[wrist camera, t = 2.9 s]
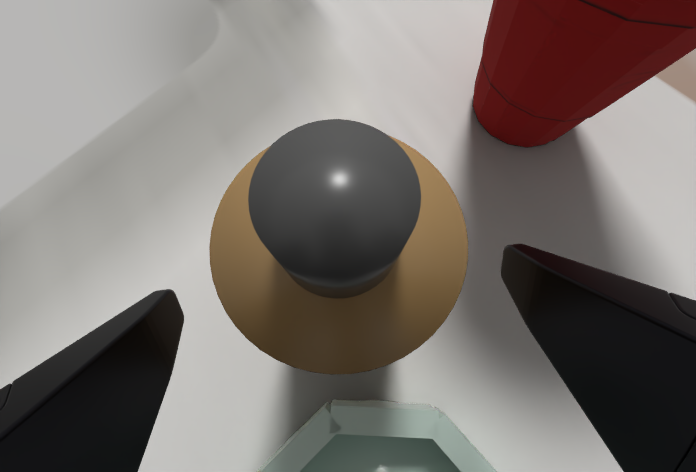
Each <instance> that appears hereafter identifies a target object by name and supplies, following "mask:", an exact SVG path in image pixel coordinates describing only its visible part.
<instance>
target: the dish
mask: <svg viewBox="0 0 696 472" xmlns="http://www.w3.org/2000/svg"><path fill="white" fill-rule="evenodd" d="M257 472H497V471H496V470H495V469H494V468H493V467H492V466H491V464H490V463H489V462H488V461H487V460H486V459H485V458H484V457H483V456H482V454H481V453H480V452H479V451H478V450H477V449H476V448H475V447H474V446H473V444H472V443H471V442H470V441H469V440H468V439H467V438H466V437H465V436H464V434H463V433H462V432H461V431H460V430H459V429H458V428H457V427H456V426H455V425H454V423H453V422H452V421H451V420H450V419H449V418H448V417H447V416H446V415H445V413H443V412H442V411H440V410H439V409H438V408H436V407H433V406H431V405H430V404H414V403H398V402H393V401H385V400H363V401H353V400H332V403H331V405H330V404H329V403H328V401H327V402H326V403H325V404H324V405H323V406H322V407H321V408H320V409H319V410H318V411H317V412H316V413H315V414H314V415H313V416H312V417H311V418H310V419H309V420H308V421H307V422H306V423H305V424H304V425H303V426H302V427H301V428H300V429H299V430H298V431H296V432H295V433H294V434H293V435H292V436H291V437H290V438H289V439H288V440H287V442H286V443H285V444H284V445H283V446H282V447H281V448H280V449H279V450H278V451H277V452H276V453H275V454H274V455H273V456H272V457H271V458H270V459H269V460H268V461H267V462H266V463H265V464H264V465H263V466H262V467H261V468H260V469H259V470H258V471H257Z"/></svg>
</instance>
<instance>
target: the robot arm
mask: <svg viewBox="0 0 696 472" xmlns="http://www.w3.org/2000/svg"><path fill="white" fill-rule="evenodd" d="M501 276H502V279H503V281H504V283H505V285H506V287H507V289H508V291H509V293H510V295H511V297H512V299H513V301H514V303H515V305H516V307H517V309H518V311H519V313H520V314H521V316H522V318H523V320H524V322H525V324H526V325H527V327H528V328H529V330H530V332H531V333H532V335H533V336H534V338H535V339H536V341H537V342H538V344H539V345H540V347H541V348H542V350H543V351H544V353H545V354H546V356H547V357H548V359H549V360H550V362H551V363H552V365H553V366H554V368H555V369H556V371H557V372H558V374H559V375H560V377H561V378H562V380H563V381H564V383H565V384H566V386H567V387H568V389H569V390H570V392H571V393H572V395H573V396H574V398H575V399H576V401H577V402H578V404H579V405H580V407H581V408H582V410H583V411H584V413H585V414H586V416H587V417H588V419H589V420H590V422H591V423H592V425H593V426H594V428H595V429H596V431H597V432H598V434H599V435H600V437H601V438H602V440H603V441H604V443H605V444H606V446H607V447H608V449H609V450H610V452H611V453H612V455H613V456H614V458H615V459H616V461H617V462H618V464H619V465H620V467H621V468H622V470H623V471H624V472H696V301H695V300H692V299H689V298H686V297H683V296H680V295H677V294H674V293H669V294H668V292H667V291H664V290H661V289H658V288H655V287H652V286H649V285H646V284H643V283H640V282H637V281H634V280H631V279H628V278H625V277H622V276H619V275H616V274H613V273H609V272H606V271H603V270H600V269H597V268H594V267H591V266H588V265H585V264H582V263H579V262H576V261H573V260H570V259H567V258H564V257H561V256H558V255H555V254H552V253H548V252H545V251H542V250H539V249H536V248H533V247H530V246H527V245H524V244H513V245H507V246H506V247H505V248H504V251H503V259H502V266H501ZM183 323H184V315H183V311H182V309H181V306H180V304H179V302H178V299H177V297H176V294H175V293H174V291H173V290H171V289H167V290H159V291H155V292H153V293H151V294H150V295H148V296H147V297H145V298H143V299H142V300H140V301H139V302H137V303H136V304H134V305H132V306H131V307H129V308H128V309H126V310H125V311H123V312H121V313H120V314H118V315H117V316H115V317H114V318H112V319H110V320H109V321H107V322H106V323H104V324H103V325H101V326H99V327H98V328H96V329H95V330H93V331H92V332H90V333H88V334H87V335H85V336H84V337H82V338H80V339H79V340H77V341H76V342H74V343H73V344H71V345H69V346H68V347H66V348H65V349H63V350H62V351H60V352H58V353H57V354H55V355H54V356H52V357H51V358H49V359H47V360H46V361H44V362H43V363H41V364H40V365H38V366H36V367H35V368H33V369H32V370H30V371H29V372H27V373H25V374H24V375H22V376H21V377H19V378H18V379H16V380H14V381H13V383H12V384H8V385H6V386H5V387H3V388H2V389H0V472H138V469H139V466H140V464H141V461H142V458H143V455H144V452H145V449H146V446H147V444H148V441H149V438H150V435H151V432H152V429H153V426H154V424H155V421H156V418H157V415H158V412H159V409H160V406H161V404H162V401H163V398H164V395H165V392H166V389H167V386H168V384H169V381H170V377H171V374H172V371H173V367H174V363H175V358H176V354H177V350H178V345H179V341H180V336H181V332H182V328H183Z"/></svg>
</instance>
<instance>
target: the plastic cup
mask: <svg viewBox="0 0 696 472" xmlns="http://www.w3.org/2000/svg"><path fill="white" fill-rule="evenodd" d="M695 48H696V0H493V5H492V9H491V13H490V17H489V22H488V26H487V30H486V34H485V38H484V44H483V53H482V58H481V62H480V66H479V69H478V73H477V77H476V81H475V88H474V96H473V99H474V101H473V107H474V110H475V113H476V116H477V119H478V121H479V122H480V123H481V125H482V126H483V127H484V128H485V129H486V130H487V131H488V132H489V133H490V135H492V136H494V137H496V138H498V139H500V140H502V141H503V142H505V143H507V144H511V145H517V146H523V147H532V146H538V145H543V144H546V143H548V142H549V141H554V140H555V139H557V138H558V137H560V136H562V135H563V134H565V133H566V132H568V131H569V130H571V129H572V128H574V127H575V126H577V125H578V124H580V123H581V122H582V121H584V120H585V119H587V118H590V117H592V116H594V115H595V114H597V113H598V112H600V111H601V110H603V109H605V108H606V107H608V106H609V105H611V104H612V103H614V102H615V101H617V100H618V99H620V98H621V97H623V96H624V95H626V94H627V93H629V92H630V91H632V90H633V89H635V88H636V87H638V86H640V85H641V84H643V83H644V82H646V81H647V80H649V79H650V78H652V77H653V76H655V75H656V74H658V73H659V72H661V71H662V70H664V69H665V68H667V67H668V66H670V65H671V64H673V63H674V62H676V61H677V60H679V59H680V58H682V57H683V56H685V55H686V54H688V53H689V52H691V51H692V50H694V49H695Z"/></svg>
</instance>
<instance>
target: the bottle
mask: <svg viewBox="0 0 696 472" xmlns="http://www.w3.org/2000/svg"><path fill="white" fill-rule="evenodd" d="M467 261H468V238H467V231H466V224H465V221H464V217H463V213H462V210H461V208H460V205H459V203H458V201H457V198H456V196H455V194H454V192H453V191H452V189H451V187H450V186H449V184H448V182H447V181H446V180H445V178H444V177H443V176H442V174H441V173H440V172H439V171H438V170H437V169H436V168H435V166H434V165H433V164H432V163H431V162H430V161H429V160H428V159H426V158H425V157H424V156H423V155H421V154H420V153H419V152H417V151H416V150H415V149H413V148H411V147H410V146H408V145H407V144H405V143H403V142H401V141H399V140H397V139H395V138H393V137H391V136H388V135H386V134H385V133H383V132H381V131H380V130H378V129H376V128H374V127H371V126H369V125H366V124H363V123H360V122H355V121H350V120H341V119H333V120H322V121H316V122H312V123H308V124H305V125H303V126H300V127H298V128H296V129H294V130H292V131H290V132H288V133H286V134H285V135H283V136H282V137H280V138H279V139H278V140H277V141H276V142H275V143H273V144H272V145H271V146H270V147H268V148H267V149H265V150H264V151H262V152H261V153H259V154H258V155H257V156H256V157H255V158H253V159H252V160H251V161H250V162H249V163H248V164H247V165H246V166H245V167H244V168H243V169H242V170H241V171H240V172H239V173H238V174H237V176H236V177H235V179H234V180H233V181H232V183H231V184H230V185H229V187H228V189H227V190H226V192H225V194H224V196H223V198H222V200H221V202H220V204H219V207H218V209H217V212H216V215H215V218H214V222H213V226H212V230H211V238H210V266H211V272H212V278H213V282H214V285H215V288H216V291H217V294H218V297H219V299H220V301H221V303H222V305H223V307H224V309H225V311H226V313H227V314H228V316H229V317H230V319H231V320H232V322H233V323H234V325H235V326H236V327H237V328H238V329H239V330H240V332H241V333H242V334H243V335H244V336H245V337H246V338H247V339H248V340H249V341H250V342H252V343H253V344H254V345H255V346H256V347H258V348H259V349H260V350H261V351H263V352H265V353H266V354H268V355H270V356H271V357H273V358H275V359H276V360H278V361H280V362H283V363H285V364H288V365H290V366H292V367H295V368H299V369H302V370H306V371H310V372H315V373H323V374H353V373H359V372H365V371H370V370H373V369H377V368H380V367H383V366H386V365H389V364H391V363H393V362H395V361H397V360H399V359H401V358H403V357H405V356H406V355H408V354H409V353H411V352H412V351H414V350H416V349H417V348H419V347H420V346H421V345H422V344H423V343H424V342H425V341H427V340H428V339H429V338H430V337H431V336H432V335H433V334H434V333H435V332H436V331H437V329H438V328H439V327H440V326H441V325H442V324H443V322H444V321H445V320H446V318H447V316H448V315H449V313H450V312H451V310H452V309H453V307H454V305H455V303H456V300H457V298H458V296H459V294H460V292H461V289H462V285H463V282H464V278H465V275H466V268H467Z"/></svg>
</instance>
